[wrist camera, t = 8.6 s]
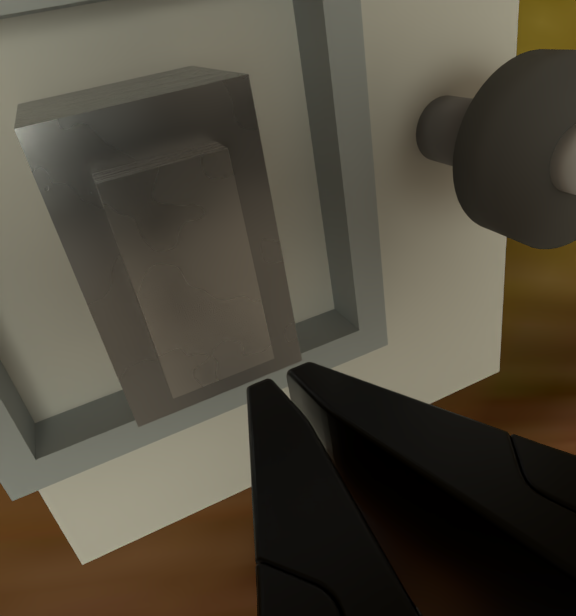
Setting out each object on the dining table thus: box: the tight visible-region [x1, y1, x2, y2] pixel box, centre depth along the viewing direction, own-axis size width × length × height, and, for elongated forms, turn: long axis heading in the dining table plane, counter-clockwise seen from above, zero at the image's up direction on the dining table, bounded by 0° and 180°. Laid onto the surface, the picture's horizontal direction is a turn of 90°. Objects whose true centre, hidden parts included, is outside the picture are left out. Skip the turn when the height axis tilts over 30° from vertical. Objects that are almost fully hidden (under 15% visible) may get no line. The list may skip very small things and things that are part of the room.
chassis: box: [0, 0, 519, 565], centre depth 18 cm, size 27×22×3 cm
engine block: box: [14, 66, 302, 427], centre depth 15 cm, size 8×5×6 cm, turn 10°
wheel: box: [452, 49, 576, 249], centre depth 16 cm, size 6×6×3 cm
